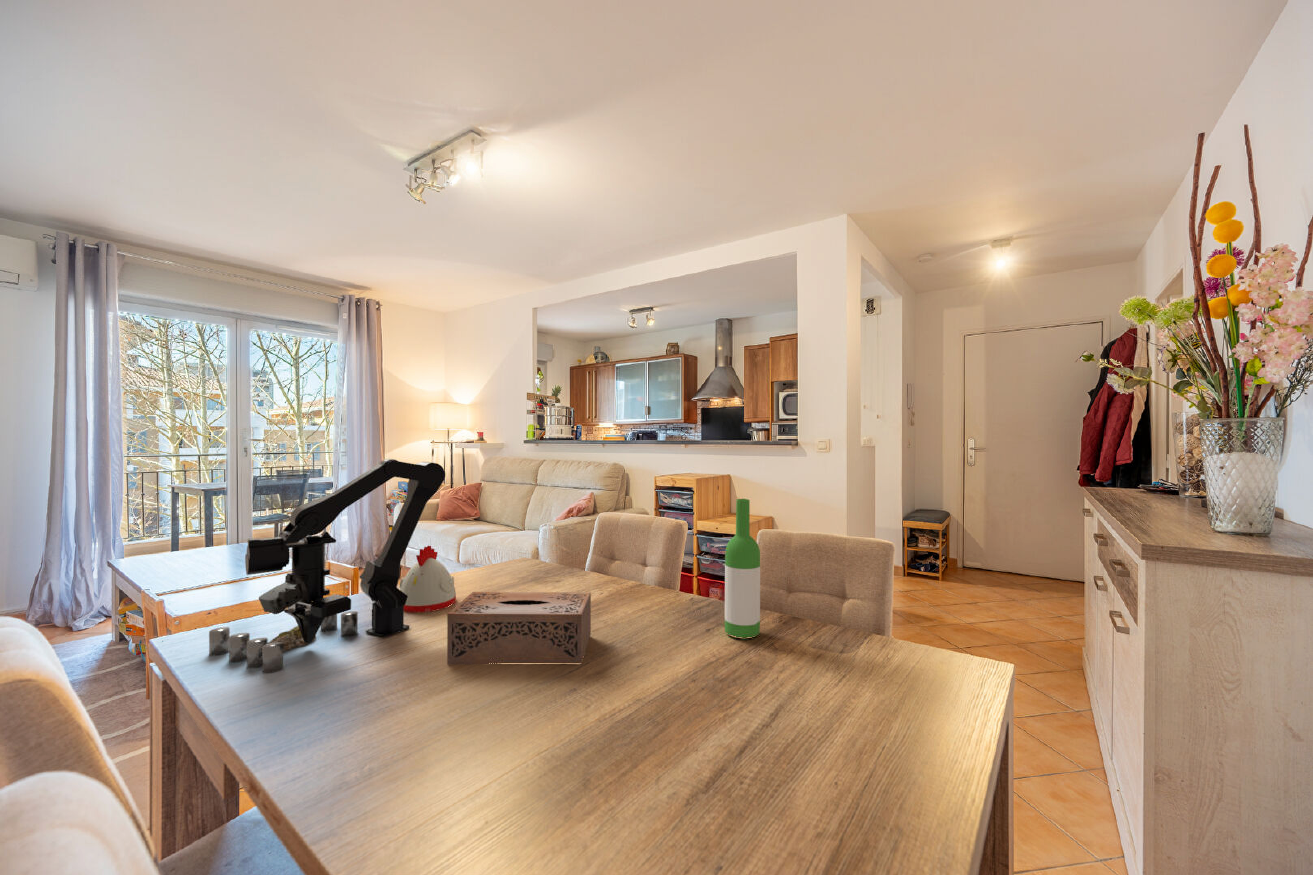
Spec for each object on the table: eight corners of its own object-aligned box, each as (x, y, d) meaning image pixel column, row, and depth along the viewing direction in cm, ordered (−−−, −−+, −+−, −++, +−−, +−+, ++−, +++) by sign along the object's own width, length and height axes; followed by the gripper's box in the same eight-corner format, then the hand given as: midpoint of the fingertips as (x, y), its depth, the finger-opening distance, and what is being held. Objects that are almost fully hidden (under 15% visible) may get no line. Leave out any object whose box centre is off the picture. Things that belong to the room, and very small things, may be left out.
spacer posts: (373, 635, 119) (373, 615, 118) (268, 674, 99) (268, 649, 99) (312, 620, 128) (312, 601, 128) (205, 653, 108) (205, 631, 108)
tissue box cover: (447, 665, 104) (447, 613, 104) (472, 637, 119) (472, 591, 119) (581, 666, 104) (581, 614, 104) (590, 637, 119) (590, 592, 118)
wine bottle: (765, 632, 122) (766, 498, 121) (751, 643, 115) (752, 502, 115) (733, 625, 126) (734, 496, 125) (718, 636, 119) (719, 500, 119)
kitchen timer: (385, 610, 135) (385, 550, 135) (418, 594, 149) (418, 540, 149) (437, 614, 133) (437, 553, 133) (465, 597, 147) (465, 542, 147)
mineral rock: (294, 623, 120) (323, 616, 118) (299, 642, 120) (328, 636, 118) (247, 643, 110) (277, 636, 108) (252, 664, 109) (283, 657, 108)
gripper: (237, 570, 108) (237, 648, 108) (297, 581, 100) (297, 666, 100) (295, 558, 118) (295, 630, 118) (353, 568, 110) (352, 645, 110)
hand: (308, 642), depth 111 cm, fingers closed
